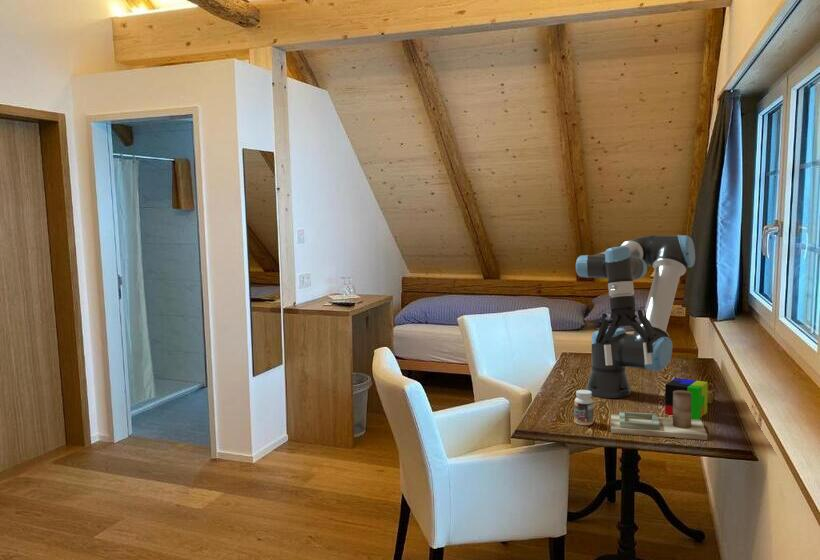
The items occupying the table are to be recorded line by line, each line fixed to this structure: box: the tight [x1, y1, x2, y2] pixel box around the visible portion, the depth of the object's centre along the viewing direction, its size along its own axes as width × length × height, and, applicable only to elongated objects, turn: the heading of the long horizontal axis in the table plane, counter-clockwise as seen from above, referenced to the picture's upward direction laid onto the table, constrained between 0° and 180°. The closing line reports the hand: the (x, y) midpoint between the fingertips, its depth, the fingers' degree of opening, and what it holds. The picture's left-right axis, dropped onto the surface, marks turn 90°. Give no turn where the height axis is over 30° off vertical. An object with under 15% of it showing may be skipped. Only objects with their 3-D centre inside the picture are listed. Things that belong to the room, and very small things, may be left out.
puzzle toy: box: [664, 377, 709, 420], centre depth 205 cm, size 10×10×10 cm
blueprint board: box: [610, 390, 708, 441], centre depth 191 cm, size 14×26×12 cm, turn 72°
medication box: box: [707, 390, 713, 404], centre depth 222 cm, size 12×3×4 cm, turn 5°
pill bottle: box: [573, 389, 594, 426], centre depth 198 cm, size 6×6×10 cm
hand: (628, 364), depth 198 cm, fingers open, 13 cm apart
